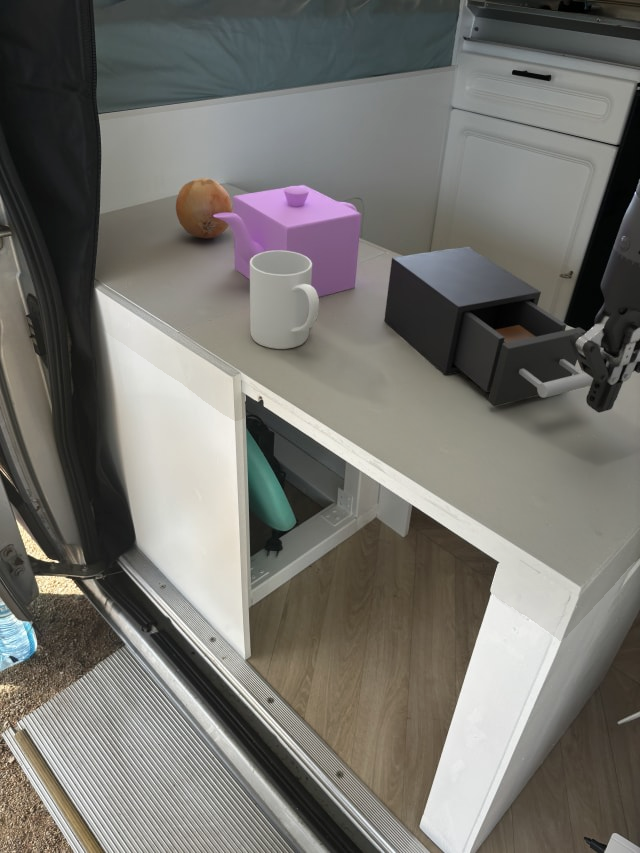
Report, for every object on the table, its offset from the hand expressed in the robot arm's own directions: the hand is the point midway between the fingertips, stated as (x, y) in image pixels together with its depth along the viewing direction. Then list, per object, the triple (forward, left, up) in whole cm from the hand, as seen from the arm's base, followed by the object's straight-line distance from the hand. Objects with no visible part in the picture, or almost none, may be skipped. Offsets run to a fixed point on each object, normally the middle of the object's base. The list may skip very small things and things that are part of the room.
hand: (598, 406), depth 69 cm
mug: (+39, +2, -6) cm, 40 cm away
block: (+12, -7, -4) cm, 15 cm away
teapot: (+51, -14, -6) cm, 53 cm away
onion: (+73, -19, -6) cm, 76 cm away
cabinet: (+22, -13, -6) cm, 27 cm away
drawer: (+12, -7, -5) cm, 15 cm away
